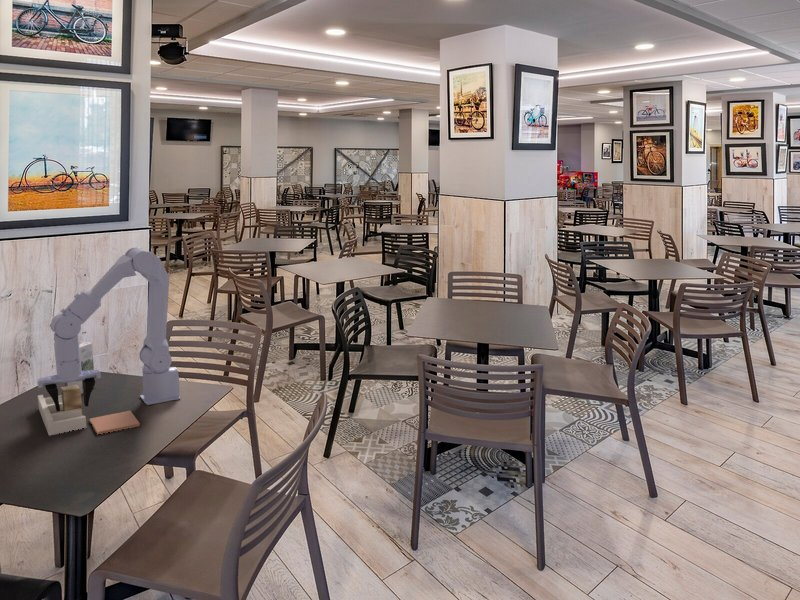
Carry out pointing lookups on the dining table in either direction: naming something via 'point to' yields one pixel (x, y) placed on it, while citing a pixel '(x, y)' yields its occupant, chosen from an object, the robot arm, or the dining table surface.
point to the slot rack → (60, 416)
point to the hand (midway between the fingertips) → (72, 407)
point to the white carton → (84, 362)
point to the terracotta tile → (114, 422)
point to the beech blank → (71, 397)
